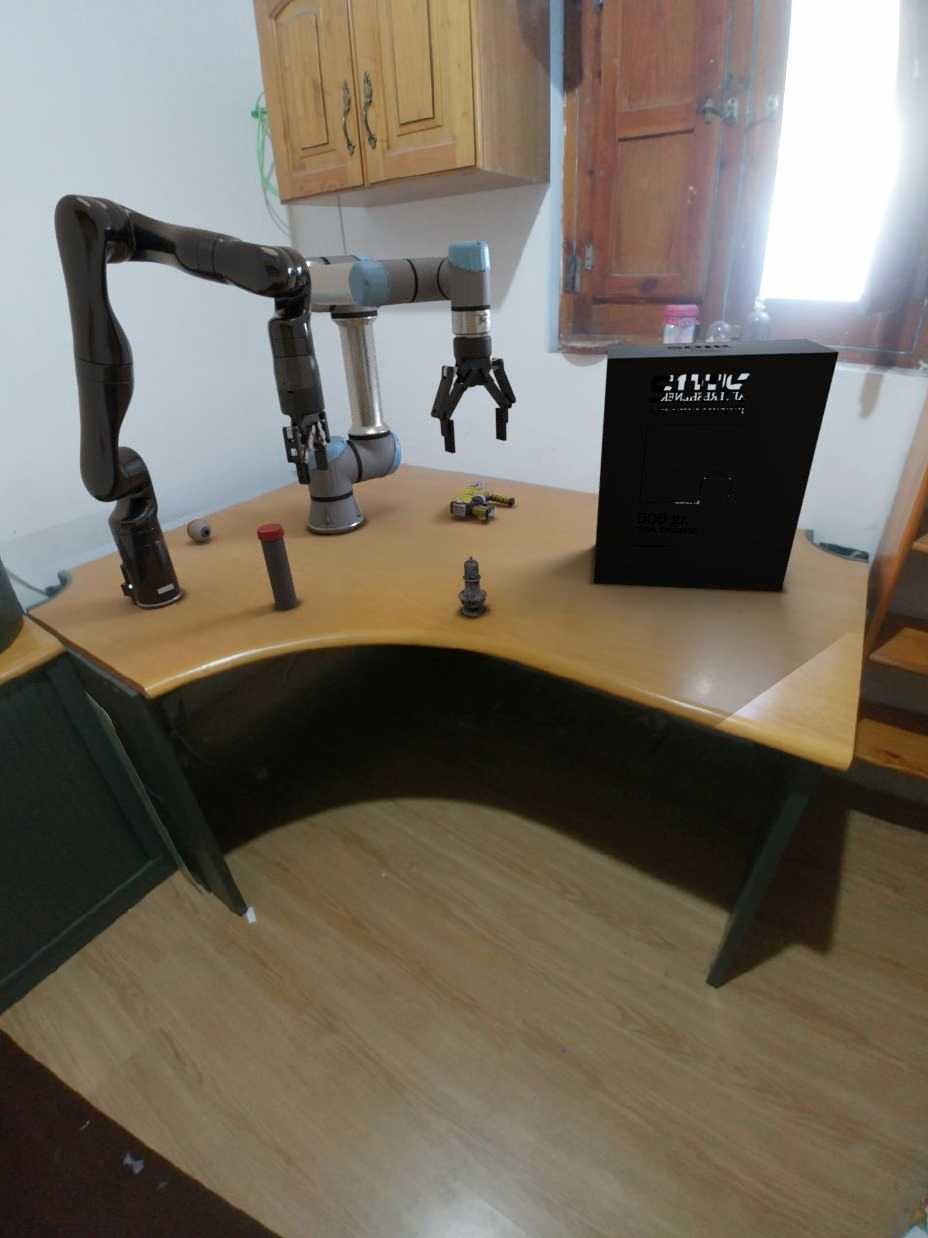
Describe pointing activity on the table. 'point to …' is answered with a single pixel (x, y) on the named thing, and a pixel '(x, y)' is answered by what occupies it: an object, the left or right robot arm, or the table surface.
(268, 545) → the bottle
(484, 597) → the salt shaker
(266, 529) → the lid
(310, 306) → the left robot arm
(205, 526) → the eyeball
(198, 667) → the table surface
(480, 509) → the toy gun
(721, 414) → the cardboard box
